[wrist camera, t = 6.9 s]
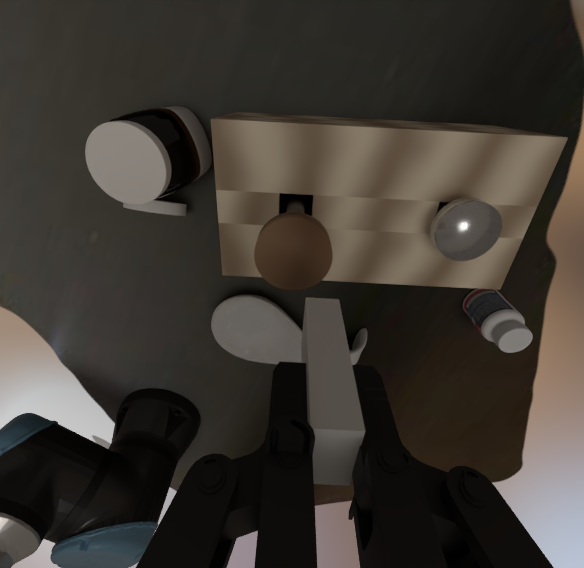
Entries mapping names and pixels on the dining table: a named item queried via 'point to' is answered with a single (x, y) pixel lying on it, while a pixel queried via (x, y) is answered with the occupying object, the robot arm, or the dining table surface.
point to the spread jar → (149, 157)
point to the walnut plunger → (293, 248)
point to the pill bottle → (497, 319)
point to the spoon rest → (263, 331)
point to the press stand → (378, 190)
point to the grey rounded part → (465, 228)
